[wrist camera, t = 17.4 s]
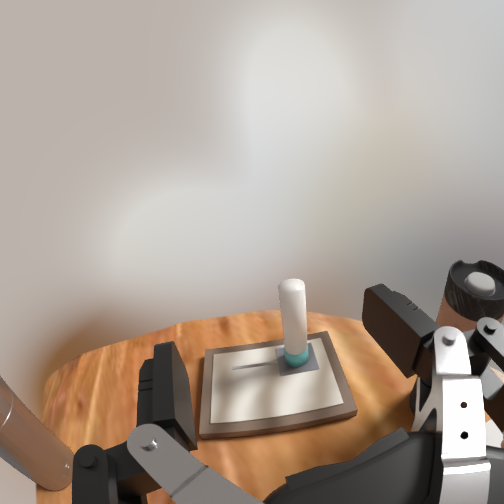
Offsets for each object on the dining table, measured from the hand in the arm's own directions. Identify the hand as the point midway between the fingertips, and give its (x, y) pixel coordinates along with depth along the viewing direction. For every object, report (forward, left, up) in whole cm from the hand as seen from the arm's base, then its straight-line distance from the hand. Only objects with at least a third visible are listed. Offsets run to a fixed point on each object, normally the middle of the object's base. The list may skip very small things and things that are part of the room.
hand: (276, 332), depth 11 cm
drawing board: (-1, +17, -26) cm, 31 cm away
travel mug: (+20, +7, -26) cm, 34 cm away
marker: (+3, +20, -24) cm, 32 cm away
